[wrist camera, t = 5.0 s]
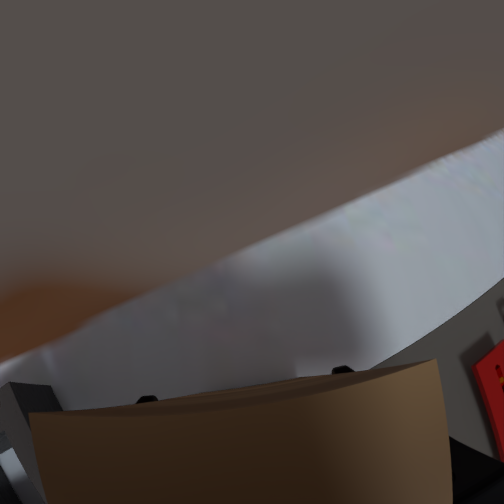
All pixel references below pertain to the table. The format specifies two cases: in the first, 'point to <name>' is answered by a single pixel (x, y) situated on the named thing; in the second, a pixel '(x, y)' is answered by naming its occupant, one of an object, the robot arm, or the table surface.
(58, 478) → the brown wooden block
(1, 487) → the grey block holder
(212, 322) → the table surface
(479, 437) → the gear board
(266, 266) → the table surface
